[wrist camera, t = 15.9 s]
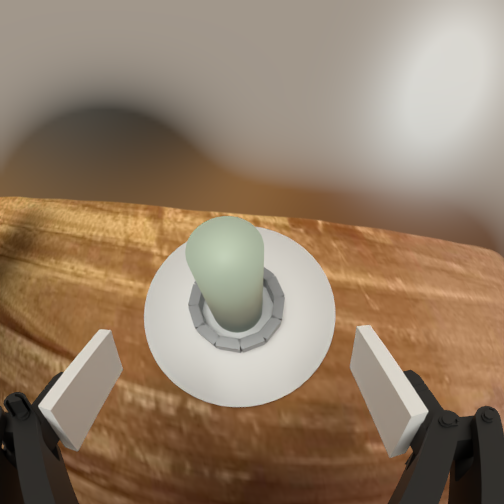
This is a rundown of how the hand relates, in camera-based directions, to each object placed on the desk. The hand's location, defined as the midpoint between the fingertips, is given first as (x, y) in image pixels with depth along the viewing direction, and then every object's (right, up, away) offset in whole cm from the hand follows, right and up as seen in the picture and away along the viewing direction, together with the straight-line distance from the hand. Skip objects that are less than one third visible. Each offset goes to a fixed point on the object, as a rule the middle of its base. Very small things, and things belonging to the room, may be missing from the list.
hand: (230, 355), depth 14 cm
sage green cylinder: (0, 0, +14) cm, 14 cm away
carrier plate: (0, -1, +16) cm, 16 cm away
